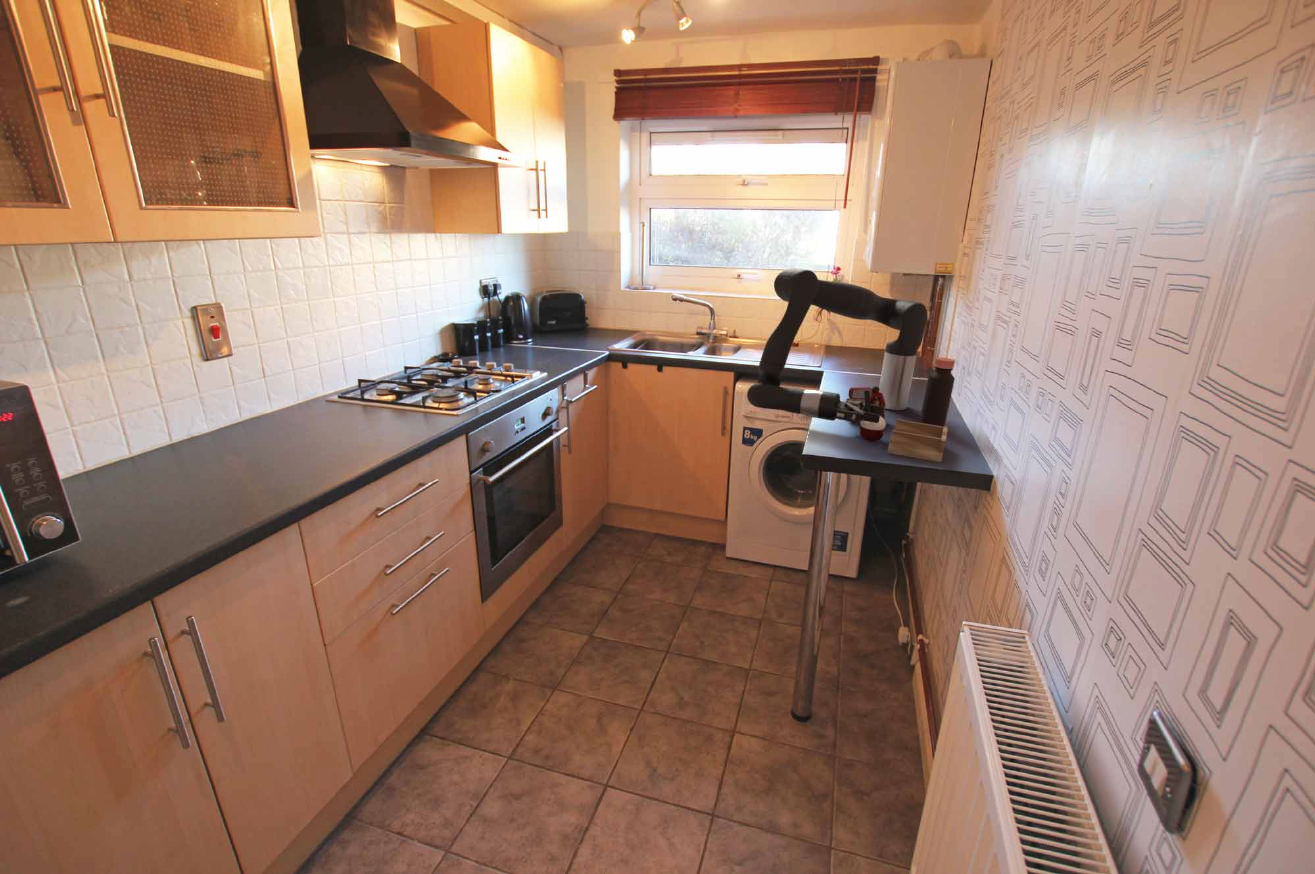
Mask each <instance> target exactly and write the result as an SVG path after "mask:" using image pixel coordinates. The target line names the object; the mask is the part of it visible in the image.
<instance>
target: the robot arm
mask: <svg viewBox="0 0 1315 874" xmlns="http://www.w3.org/2000/svg"><path fill="white" fill-rule="evenodd" d="M773 289H774V292H775V294H776V296H778V298H779V299H780V300H782V301H783V302H785V303H787V307H786V310H785V312H784V315H783V316H782V318H781V320H780V322H779V324H778V325H777V326H776V328H775V329H774V330H773V332H772V333H771V334H770V336H769V338H768V339H767V341H766V343H765V345H764V348H763V351H762V354H761V356H760V357H761V358H760V360H759V364H758V370H759V374H758V378H757V382H756V383H754V384H752V385H751V386H750V387H749V388H748V390H747V393H746V397H747V401H748V402H749V403H750V404H751V405H752V406H753V407H755V408H760V409H767V410H774V411H775V410H777V411H783V412H786V413H790V414H791V413H792V414H797V415H803V416H805V417H809V418H815V419H821V420H826V421H831V422H833V421H836V419H837V420H840V421H841V420H842V421H846V422H852V423H856V424H858V423H859V422H862V421H863V420H864V421H868V422H874V423H878V422H879V419H880V415H883V413H884V414H885V412H884V407H882V406H876V405H871V413H868V412H866V411H865V401H861V400H854V399H849V397H848V398H846V399H845V401H844V400H843V401H842V400H841V395H840V393H837V392H831V391H825V390H824V391H823V390H818V389H806V388H799V387H789V386H788V387H787V386H781V383H782V382H781V381H782V375H783V372H784V370H785V367H786V363H787V362H788V358H789V356H790V355H789V354H790V351H791V349H792V346H793V343H794V341H795V338H796V336H797V334H798V332H799V330H800V328H801V326H802V324H803V322H804V321H805V318H806V316H807V314H808V312H809V311H810V308H811V306H815V307H817V308H820V309H822V310H825V311H828V312H830V313H832V314H836V315H840V316H842V317H845V318H850V319H854V320H861V321H862V320H863V321H873V322H877V323H879V324H883V325H884V326H886V327H889V328H890V329H894V330H896V331H899V333H898V337H897V339H895V340H892V341H889V342H887V343H886V345H885V350H884V354H883V355H884V356H883V362H882V368H881V372H880V373H881V374H880V379H879V385H878V387H879V389H880V390H879V392H880V393H882V394H883V397H884V401H885V404H886V406H885V410H886V409H887V410H891V411H892V410H893V411H903V410H906V409H907V406H908V401H909V396H910V390H911V385H912V382H913V381H912V380H913V375H914V370H915V365H916V359H917V354H918V351H919V348H920V347H921V345H922V341H923V338H924V334H925V331H926V326H927V322H928V310H927V309H928V308H927V307H926V305H925V304H924V303H922V302H918V301H913V300H908V299H896V298H888V297H885V296H884V297H882V296H880V295H878V294H876V293H875V292H874V291H872V290H871V289H869V288H866V287H863V286H860V285H856V284H853V283H848V282H842V281H841V282H840V281H831V280H823V279H820V278H818V276H817V275H816V273H815V272H813V271H812V270H809V269H804V268H793V267H792V268H788V269H785V270H783V271H781V272H779V273H778V274H777V275H776V277H775V279H774V283H773ZM862 407H863V408H862ZM864 413H865V414H864Z"/></svg>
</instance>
